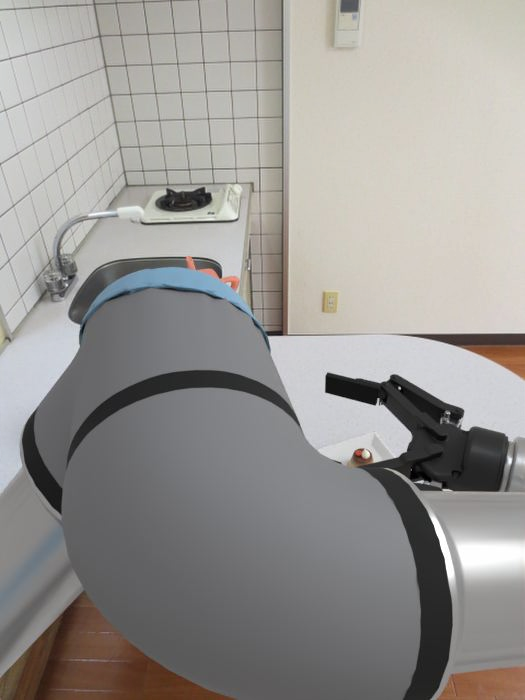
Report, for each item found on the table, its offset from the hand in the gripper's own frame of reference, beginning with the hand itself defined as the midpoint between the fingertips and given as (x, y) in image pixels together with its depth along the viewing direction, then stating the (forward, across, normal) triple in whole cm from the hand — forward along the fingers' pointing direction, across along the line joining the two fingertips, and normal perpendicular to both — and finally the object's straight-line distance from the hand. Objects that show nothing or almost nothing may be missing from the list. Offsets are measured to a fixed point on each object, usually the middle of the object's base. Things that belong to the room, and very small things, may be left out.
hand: (305, 416), depth 61 cm
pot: (+49, +50, -26) cm, 74 cm away
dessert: (-3, +18, -26) cm, 32 cm away
